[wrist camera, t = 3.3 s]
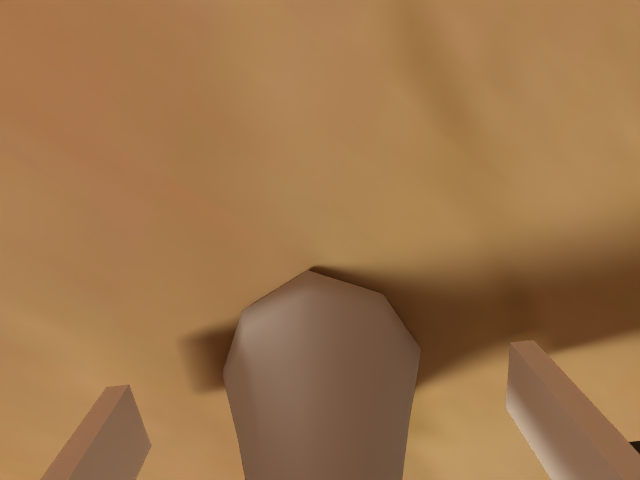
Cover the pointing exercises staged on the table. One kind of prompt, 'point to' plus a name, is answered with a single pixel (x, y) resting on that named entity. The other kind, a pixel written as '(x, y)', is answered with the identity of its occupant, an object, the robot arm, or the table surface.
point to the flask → (321, 383)
